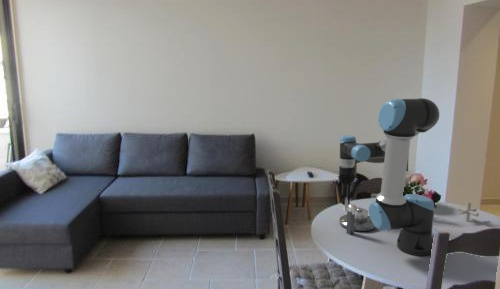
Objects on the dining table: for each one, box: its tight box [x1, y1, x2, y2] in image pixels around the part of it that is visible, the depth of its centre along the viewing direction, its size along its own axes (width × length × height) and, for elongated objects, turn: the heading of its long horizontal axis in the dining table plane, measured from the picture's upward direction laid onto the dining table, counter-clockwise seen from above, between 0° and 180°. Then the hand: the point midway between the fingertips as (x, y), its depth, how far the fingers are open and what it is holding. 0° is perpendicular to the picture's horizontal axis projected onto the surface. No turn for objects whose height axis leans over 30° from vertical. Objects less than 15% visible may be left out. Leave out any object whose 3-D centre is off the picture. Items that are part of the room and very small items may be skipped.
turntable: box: [339, 204, 377, 232], centre depth 190 cm, size 19×18×5 cm
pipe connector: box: [457, 201, 480, 223], centre depth 191 cm, size 10×10×10 cm
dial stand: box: [345, 204, 356, 236], centre depth 179 cm, size 5×2×14 cm, turn 33°
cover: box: [354, 207, 369, 223], centre depth 189 cm, size 8×8×6 cm
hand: (345, 210), depth 198 cm, fingers closed
